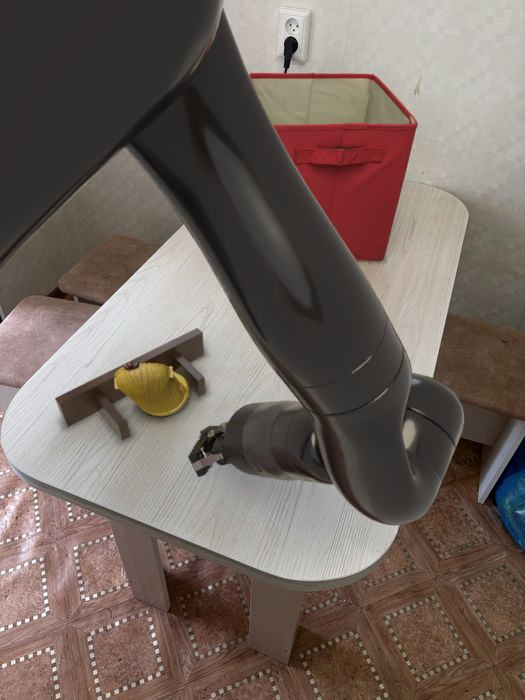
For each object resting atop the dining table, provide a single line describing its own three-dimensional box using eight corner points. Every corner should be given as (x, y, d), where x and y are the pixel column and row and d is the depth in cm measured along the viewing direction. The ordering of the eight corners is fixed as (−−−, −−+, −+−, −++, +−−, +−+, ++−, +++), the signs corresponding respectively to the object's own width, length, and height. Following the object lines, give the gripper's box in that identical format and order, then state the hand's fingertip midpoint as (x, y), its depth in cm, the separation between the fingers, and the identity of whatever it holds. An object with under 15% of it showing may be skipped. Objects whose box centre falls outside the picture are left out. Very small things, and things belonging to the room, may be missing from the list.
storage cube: (391, 267, 105) (428, 124, 85) (260, 273, 102) (267, 126, 82) (350, 195, 128) (372, 69, 108) (243, 198, 125) (245, 68, 105)
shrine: (171, 448, 70) (161, 374, 60) (117, 436, 71) (97, 362, 61) (197, 389, 79) (192, 315, 68) (147, 379, 80) (135, 304, 69)
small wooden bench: (90, 459, 69) (83, 437, 65) (63, 420, 73) (54, 398, 70) (230, 378, 80) (230, 356, 77) (198, 349, 85) (197, 327, 81)
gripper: (309, 375, 53) (234, 386, 67) (206, 440, 46) (149, 436, 61) (338, 438, 53) (259, 435, 68) (242, 511, 47) (177, 490, 62)
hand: (207, 436), depth 65 cm, fingers closed
